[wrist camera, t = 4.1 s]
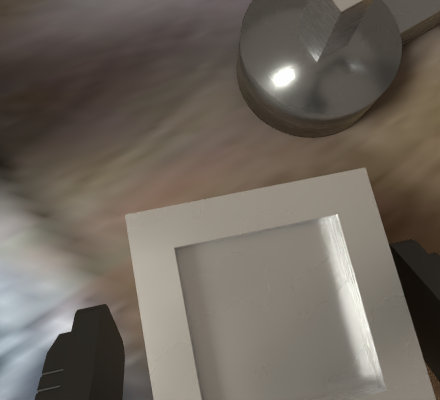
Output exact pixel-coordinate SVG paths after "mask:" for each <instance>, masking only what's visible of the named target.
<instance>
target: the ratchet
mask: <svg viewBox="0 0 440 400" xmlns="http://www.w3.org/2000/svg"><path fill="white" fill-rule="evenodd" d="M439 24H440V0H253V1H252V3H251V4H250V6H249V8H248V9H247V11H246V13H245V16H244V19H243V23H242V28H241V35H240V44H239V52H238V61H237V78H238V84H239V87H240V90H241V93H242V95H243V97H244V99H245V101H246V103H247V104H248V106H249V107H250V108H251V110H252V111H253V112H254V113H255V114H256V115H257V116H258V117H259V118H260V119H261V120H263V121H264V122H265V123H267V124H268V125H270V126H271V127H273V128H275V129H277V130H279V131H281V132H284V133H287V134H290V135H293V136H299V137H311V138H314V137H324V136H328V135H332V134H335V133H338V132H341V131H343V130H345V129H347V128H348V127H350V126H351V125H353V124H354V123H355V122H357V121H358V120H359V119H360V118H361V117H362V116H363V115H364V114H365V112H366V111H367V110H368V109H369V108H370V107H371V106H372V105H373V104H374V103H375V102H376V100H377V99H378V98H379V97H380V96H381V95H382V94H383V93H384V92H385V91H386V89H387V88H388V87H389V85H390V84H391V83H392V81H393V79H394V78H395V76H396V74H397V71H398V69H399V66H400V62H401V57H402V45H404V44H406V43H407V42H409V41H411V40H413V39H414V38H416V37H418V36H420V35H421V34H423V33H425V32H426V31H428V30H430V29H432V28H433V27H435V26H437V25H439Z"/></svg>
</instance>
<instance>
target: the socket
mask: <svg viewBox="0 0 440 400" xmlns="http://www.w3.org/2000/svg"><path fill="white" fill-rule="evenodd" d="M125 218H126V224H127V231H128V237H129V244H130V250H131V257H132V263H133V269H134V276H135V282H136V289H137V295H138V302H139V308H140V314H141V321H142V327H143V334H144V340H145V346H146V353H147V359H148V366H149V372H150V379H151V385H152V391H153V398H154V400H436V398H435V395H434V391H433V388H432V385H431V382H430V378H429V375H428V372H427V368H426V365H425V362H424V359H423V355H422V352H421V349H420V345H419V342H418V339H417V336H416V332H415V329H414V326H413V322H412V319H411V316H410V313H409V309H408V306H407V303H406V299H405V296H404V293H403V290H402V286H401V283H400V280H399V276H398V273H397V270H396V267H395V263H394V260H393V257H392V253H391V250H390V247H389V244H388V240H387V237H386V234H385V230H384V227H383V224H382V221H381V217H380V214H379V211H378V207H377V204H376V201H375V198H374V194H373V191H372V188H371V184H370V181H369V178H368V175H367V171H366V168H360V169H355V170H350V171H345V172H340V173H335V174H330V175H325V176H320V177H315V178H310V179H304V180H299V181H294V182H289V183H284V184H279V185H274V186H269V187H264V188H259V189H254V190H249V191H244V192H239V193H234V194H229V195H224V196H218V197H213V198H208V199H203V200H198V201H193V202H188V203H183V204H178V205H173V206H168V207H163V208H158V209H153V210H148V211H143V212H138V213H132V214H127V215H125Z"/></svg>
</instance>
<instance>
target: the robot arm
mask: <svg viewBox="0 0 440 400" xmlns="http://www.w3.org/2000/svg"><path fill="white" fill-rule="evenodd" d="M389 247H390V250H391V253H392V257H393V260H394V263H395V267H396V270H397V273H398V276H399V280H400V283H401V286H402V290H403V293H404V296H405V299H406V303H407V306H408V309H409V313H410V316H411V319H412V322H413V326H414V329H415V332H416V336H417V339H418V342H419V345H420V349H421V352H422V355H423V359H424V360H425V362H426V363H427V365H428V366H429V368H430V369H431V370H432V372H433V373H434V375H435V376H436V377H437V379H438V380H439V382H440V256H439V255H437V254H436V253H433V254H428V253H427V252H426V251H425V250H424V249H423V248H422V247H421V246H420V245H419V244H418V243H417V242H416V241H414V240H411V239H410V240H405V241H400V242H396V243H391V244H389ZM124 363H125V354H124V346H123V341H122V338H121V336H120V333H119V331H118V329H117V326H116V324H115V322H114V319H113V317H112V315H111V313H110V310H109V308H108V306H107V305H106V304H103V305H98V306H94V307H89V308H84V309H80V310H77V311H76V313H75V317H74V321H73V326H72V331H71V332H67V333H63V334H59V336H58V337H57V339H56V340H55V342H54V343H53V345H52V346H51V348H50V349H49V351H48V352H47V355H46V359H45V363H44V367H43V371H42V377H41V378H40V382H39V386H38V389H37V390H38V394H36V397H35V400H122V396H123V380H124Z"/></svg>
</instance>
